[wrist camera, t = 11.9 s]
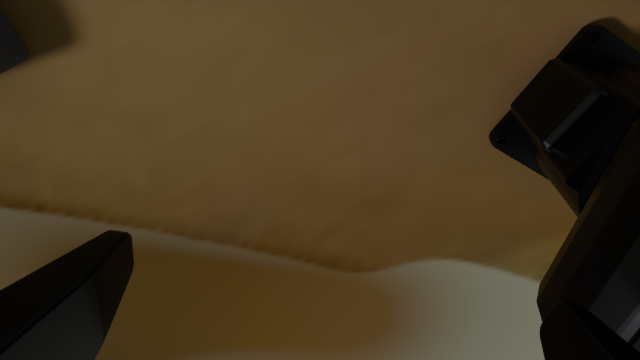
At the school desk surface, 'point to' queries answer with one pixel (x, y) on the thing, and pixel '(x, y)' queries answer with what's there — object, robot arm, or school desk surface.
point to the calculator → (10, 46)
